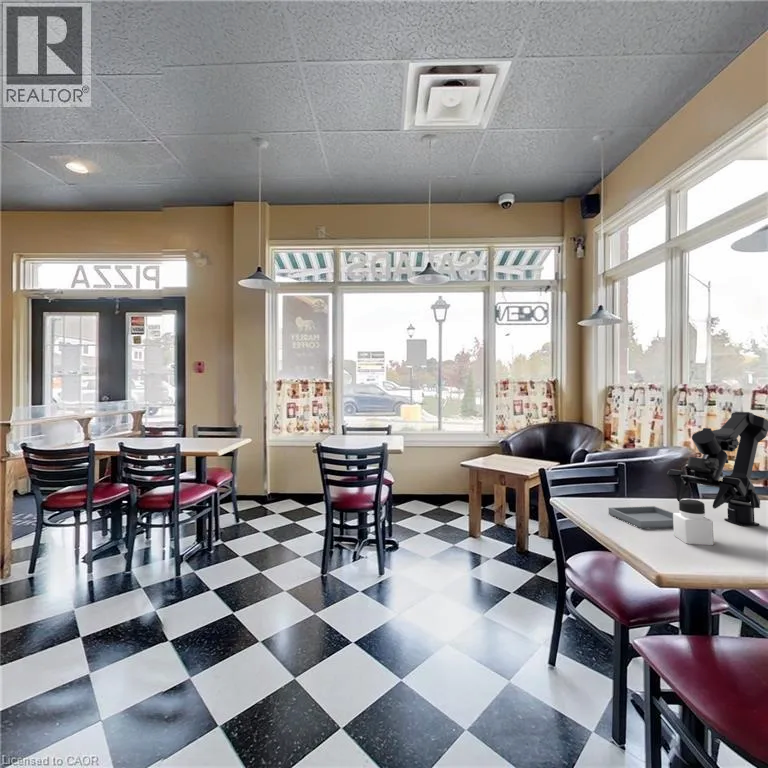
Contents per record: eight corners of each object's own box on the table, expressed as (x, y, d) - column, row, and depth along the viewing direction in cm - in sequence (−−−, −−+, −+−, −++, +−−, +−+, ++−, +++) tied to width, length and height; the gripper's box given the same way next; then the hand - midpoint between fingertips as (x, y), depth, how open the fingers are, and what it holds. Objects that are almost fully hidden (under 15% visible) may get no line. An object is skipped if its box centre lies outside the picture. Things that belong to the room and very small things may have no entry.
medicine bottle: (714, 545, 111) (712, 503, 112) (686, 544, 113) (684, 502, 113) (699, 537, 118) (697, 497, 119) (673, 535, 120) (671, 496, 120)
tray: (654, 512, 143) (654, 506, 143) (692, 527, 127) (691, 519, 127) (608, 514, 142) (608, 507, 142) (640, 529, 126) (640, 521, 126)
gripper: (668, 444, 129) (651, 481, 123) (740, 451, 112) (723, 493, 106) (682, 466, 132) (665, 503, 126) (753, 475, 115) (738, 518, 110)
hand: (695, 503), depth 117 cm, fingers open, 9 cm apart
